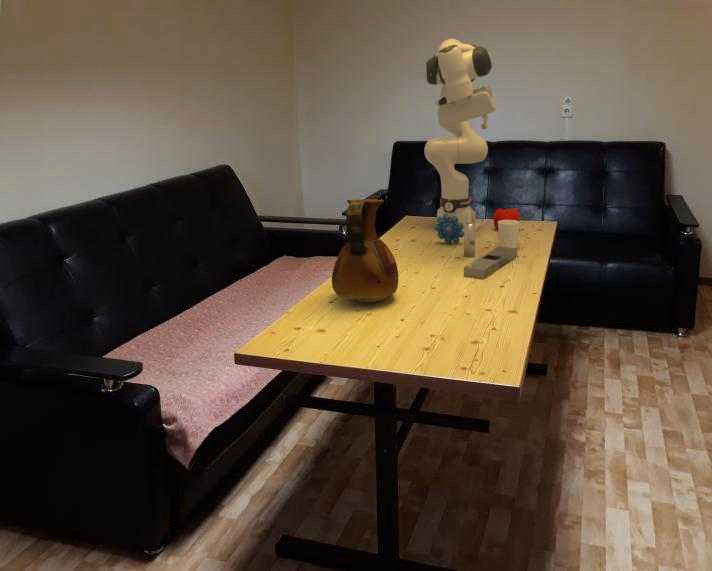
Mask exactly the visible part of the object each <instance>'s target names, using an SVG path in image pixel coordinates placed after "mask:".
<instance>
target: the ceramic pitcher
mask: <svg viewBox="0 0 712 571" xmlns="http://www.w3.org/2000/svg"><path fill="white" fill-rule="evenodd" d="M346 201H347V204H348V206H347V209H346V213H345V224H346V225H345V226H346V234H347V239H348V240H347V241H348V242H346V244H345V245H344V246H343V247H342V248H341V250H340V252H339V254H338V255H337V258H336V260H335V263H334V265H333V269H332V273H331V285H332V286H331V287H332V290H333V292H334V293H335V294H336V295H338V296H340V297H342V298H345V299H346V298H347V299H350V300H355V301H359V302H367V303H376V302H381V301H383V300H385V299H387V298H388V297H391V296H392V295H394V294H396V292H397V290H398V286H399V270H398V264H397V262H396V258H395V256H394V254H393V253H392V251H391V249H390V248H389V247H388V245H387V244H386V243H385V242H384V241H383V240H381V239H380V237H379V236H378V234H377V231H376V217H377V215H376V214H377V211H378V210H379V208H380V206H381V205H382V204H384V203H385V201H384V199H375V198H371V199H370V198H365V199H352V200H351V199H347V200H346Z"/></svg>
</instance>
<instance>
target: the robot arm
mask: <svg viewBox="0 0 712 571" xmlns="http://www.w3.org/2000/svg"><path fill="white" fill-rule="evenodd" d="M492 68H493V61H492V57H491V54H490V52H489V50H488V49H486V48H485V47H483V46H481V45H480V46H478V45H476V44H471V43H470V44H469V43H463V42H461V41H460V40H458V39H455V38H449V39H446V40H444V41H443V42H442V43H441V44H440V46H438V49H437V55H435V54H433V56H432V57H431V58H429V59H428V60H427V61H426V63H425V65H424V70H423V74H424V78H425V79H426V82H427V83H428V84H429V85H433V86H437V85H442V86H441V89H440V94H439V95H440V96H439V99H438V100H436V101H435V104H436V107H437V112H436V113H437V119H438V123H439V127H441V128H442V129H444V130H445V131H446V132H449V133H451V134H452V135H453V136H438V137H433V138H430V139H429V140H427V142H426V144H425V146H424V152H423V153H424V156H425V159H426V161H428V162H429V163H430V164H431V165H433V166H434V168H435V169H436V171H437V172H438V174H439V177H440V183H441V196H440V200H439V205H440V207H439V208H438V209H437V213H436V218H437V217H442V218H443V215H444V214H445V213H447V214H449V215H450V217H451V216H453V215H454V216H457V218H458V222H461V223H462V224H463V225H464V228H463V229H462V231H463V232H464V229H465V223H476V232H477V231H478V230H479V229H480V228H481V226H482V223H480V222H477V213H476V211H475V210H473V208H472V206H471V203H470V202H472V200H473V199H472V198H473V197H472V196H469V186H470V185H469V184H470V181H469V178H468V177H467V175H466V174H464V173H462V172H460V171H458V170H457V169H455V165H457V164H458V165H459V164H460V165H461V164H462V165H463V164H465V165H466V164H467V165H469V164H476V163H481V162H483V161H484V160H485V158H487V155H488V151H489V147H488V143H487V141H486V140H485V139H484V138H483V137H482V136H480V135H479V134H477V133H476V132H475V130H474V129H473V128H472V126H471V124H470V121H469V120H472V119H476V118H479V117H481V118H482V120H483V123H481V124H480V126H481V129H482V130H487V129H488V127H489V126H488V124H487V123H488V119H489V116H488V114H491V113H494V112H495V111H497V106H496V103H495V100H494V97H493V91H492V89H491V87H490V86H487V85H482V86H481V87H477V88H474V87H473V86H474V85H473V82H474V81H475V80H476V79H478V78H482V77H485V76H487V75H488V74H489V73H490V72H491V70H492ZM435 224H438V223H437V222H436V223H435ZM433 229H434V230H435V228H434V227H433Z"/></svg>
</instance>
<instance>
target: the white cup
mask: <svg viewBox="0 0 712 571" xmlns="http://www.w3.org/2000/svg"><path fill="white" fill-rule="evenodd" d="M519 228H520V221H515V220H501V221H498V229H497V240H498V246H497V247H508V248H516V249H518V248H517V247H518V241H519V240H518V239H519V232H520V229H519Z"/></svg>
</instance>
